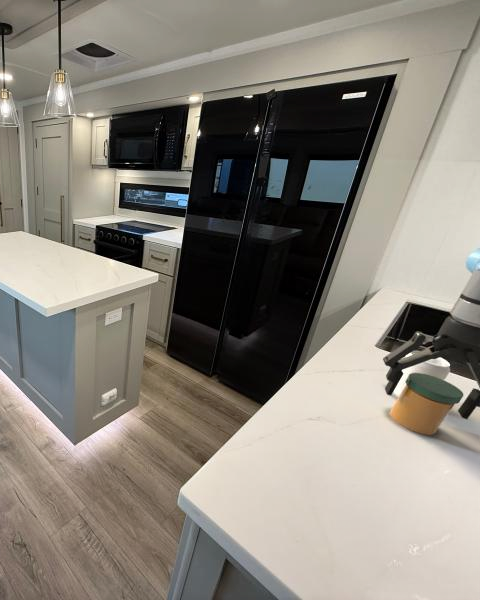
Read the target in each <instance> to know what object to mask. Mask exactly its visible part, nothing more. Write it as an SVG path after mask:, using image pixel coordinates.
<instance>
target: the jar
mask: <svg viewBox="0 0 480 600" xmlns="http://www.w3.org/2000/svg"><path fill="white" fill-rule="evenodd" d="M455 405H456V404H447V403H442V402H438V401H435V400H432V399H430V398H427V397H425V396H423V395H421V394H419V393H417V392H415V391H414V390H412V389H411V388H410V387H408V386H407V384H406V385H405V387H404V388H403V390H402V392H401V393H400V395H399V396H397V399H396V400H395V402H394V403H393V406H392V407H391V409H390V410H389V415H390V417H391V418H392V420H394V421H395V422H396V423H397V424H399V425H400V426H402V427H404V428H405V429H407V430H410V431H412V432H415V433H417V434H421V435H425V436H431V435H434V434H436V432H437V431H438V429H439V428H440V427H441V425H442V424H443V422H444V421H445V419H446V418H447V416H448V415H449V413H450V412H451V410H452V409H453V407H454V406H455Z"/></svg>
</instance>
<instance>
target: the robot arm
mask: <svg viewBox="0 0 480 600" xmlns="http://www.w3.org/2000/svg"><path fill="white" fill-rule="evenodd" d="M465 267H466V269H467V271H468V272H470V273H471V275H470V277H469V279H468V280H467V282H466V284H465V286H464V288H463V290H462V292H461V293H460V295H459V296H458V298H457V300H456V302H455V303H454V304H453V307H452V308H451V310H450V311H449V316H447V317H446V318H445V320H444V321H443V323H442V325H441V326H440V329H439V331H438V332H437V334H435V335H429V334H425V333H423V332H422V331H420V330H418V331H415V332H414V333H413V336H411V338H410V339H409V340H407V341H406V342H404V343H403V344H402V345H400V346H398V347H397V348H396V349H394V350H393V351H392V352H390V353H388V354H387V355H385V356H384V357H383V358H382V360H383V363H384V365H385V366H386V367H389V369H388V371H387V372H386V375H385V378H386V380H387V384H386V385H385V386H384V391H385V393H386V395H387V396H390V397H391V396H392V395H393V393H394V390H395V388H396V386H397V385H398V383H399V381H400V379H401V378H402V376H403V374H404V373H403V371H402V370H403V369H406V368H409V367H412V366H414V365H417V364H420V363H422V362H425V361H428V360H431V359H437V358H442V359H444V360H446V361H453V362H455V363H458V364H460V365H461V364H462V365H463V364H467V365H468V367H469V369H470V371H471V374H472V376H473V378H474V379H475V381H476V384H477V386H478V388H479V389H480V247H478V248H476V249H475V250H473V251H471V253H470V254H469V255H468V256H467V258H466V260H465ZM428 343H431V344H432V345H431V346H428V347H426V348H424V349H423V350H420V351H421V352H418V353H415V354H413V355H410V356H408V357H405V356H406V355H408V354H409V353H411V352H412V351H417V349H419V348H420V347H421V346H422V345H426V344H428ZM479 389H477V388H474V387H473V388H472V390H471V391H470V392H469V394H468V395H467V397H466V398H465V399H464V400H463V402H462V404H461V405H460V407H459V408H458V409H457V412H458V414H459V415H460V417H461V418H462V419H464V420H468V419H469V418H470V417H471V415H472V414H473V412H474V411H475V410H476V408H480V390H479Z"/></svg>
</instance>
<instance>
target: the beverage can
mask: <svg viewBox="0 0 480 600" xmlns="http://www.w3.org/2000/svg"><path fill="white" fill-rule="evenodd" d="M421 351H422V350H414V351H412V352H411V353H409V354H408V355H406V356H405V357H408V356H410V355H413V354H415V353H418V352H421ZM405 357H404V358H405ZM402 371H403V373H404V374H403V376H402V378H401V379H400V381H399V383H398V385H397V386H396V388H395V390H394V392H393V393H394V394H395V395H396V396H397V397H399V395H400V393H401V392H402V390H403V388H404V387H405V385H406V382H405V381H406V379H407V377H408V376H409V374H411V373H422V374H427V375H430V376H434V377H437V378H439V379H442V380H444V381H446V378H447V377H448V375H449V374H450V372H451V364H450V362H448V360H445V359H443V358H442V357H440V358H437V359H431V360H428V361H425V362H422V363H420V364H417V365H414V366H412V367H409V368H406V369H403V370H402Z"/></svg>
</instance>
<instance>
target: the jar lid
mask: <svg viewBox="0 0 480 600" xmlns="http://www.w3.org/2000/svg"><path fill="white" fill-rule="evenodd" d="M405 382H406V384H407V386H408V387H410V388H411V389H412V390H414V391H415V392H417V393H419V394H421V395H423V396H425V397H427V398H430V399H432V400H435V401H438V402H442V403H447V404H455V405H457V404H459V403H460V401H461V400H462V399H463V397H464V392H463V391H462V390H461V389H460V388H459V387H457V386H456V385H454V384H452V383H450V382H449V381H447V380H442V379H439V378H437V377H434V376H430V375H427V374H422V373H411V374H409V376H408V377H407V379H406V381H405Z"/></svg>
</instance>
